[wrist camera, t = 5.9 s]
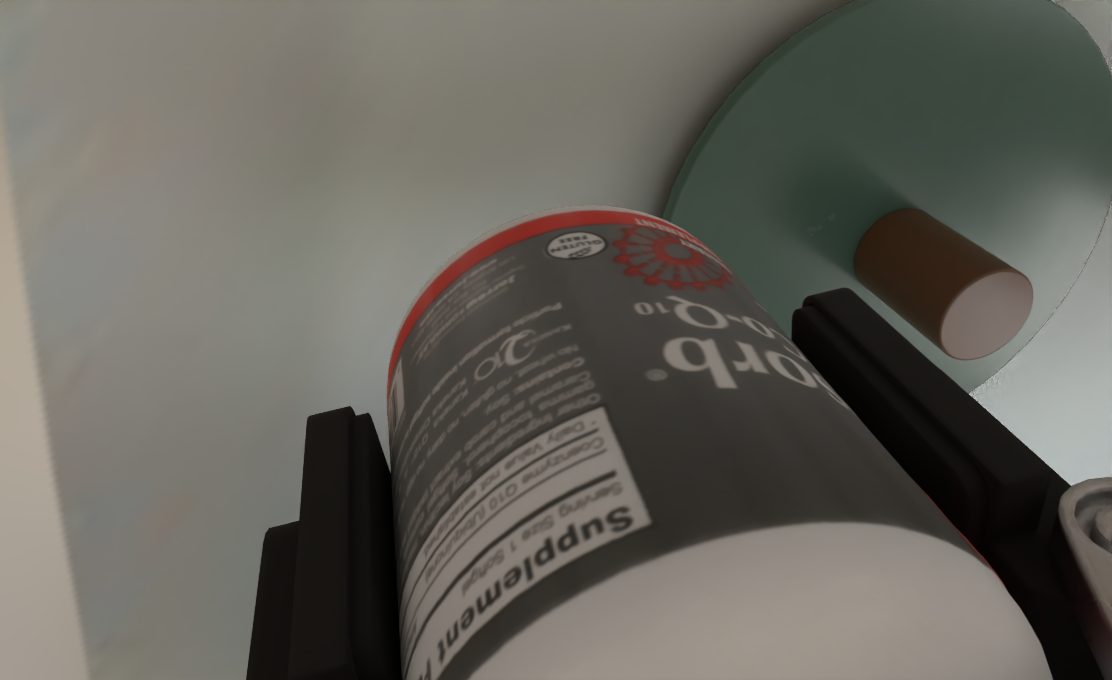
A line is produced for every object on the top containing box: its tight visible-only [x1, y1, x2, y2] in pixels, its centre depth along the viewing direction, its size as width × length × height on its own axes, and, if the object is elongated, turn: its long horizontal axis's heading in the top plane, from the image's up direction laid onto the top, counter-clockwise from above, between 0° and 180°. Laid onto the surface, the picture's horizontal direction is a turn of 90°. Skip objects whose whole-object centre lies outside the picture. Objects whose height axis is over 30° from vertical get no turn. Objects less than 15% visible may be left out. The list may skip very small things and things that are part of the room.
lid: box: [662, 0, 1112, 393], centre depth 24 cm, size 15×15×5 cm
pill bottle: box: [387, 205, 1053, 680], centre depth 9 cm, size 6×6×10 cm
